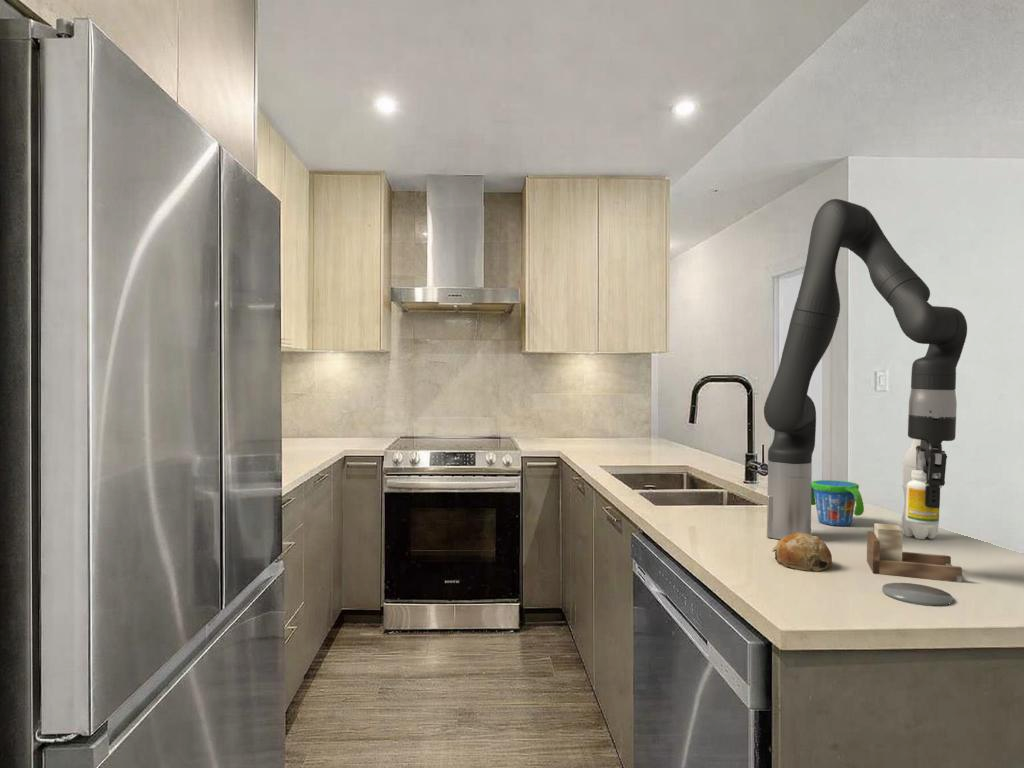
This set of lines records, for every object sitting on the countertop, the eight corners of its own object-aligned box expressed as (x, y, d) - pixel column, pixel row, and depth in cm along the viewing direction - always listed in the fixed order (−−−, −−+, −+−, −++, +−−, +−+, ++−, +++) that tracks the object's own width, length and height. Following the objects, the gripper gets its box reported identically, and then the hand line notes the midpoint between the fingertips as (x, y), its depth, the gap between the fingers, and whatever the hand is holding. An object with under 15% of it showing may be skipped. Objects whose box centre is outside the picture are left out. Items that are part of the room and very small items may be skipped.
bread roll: (797, 591, 125) (813, 557, 122) (758, 556, 133) (772, 523, 130) (832, 584, 129) (848, 551, 126) (792, 550, 137) (807, 518, 134)
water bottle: (943, 541, 148) (945, 429, 148) (908, 539, 150) (910, 428, 150) (930, 534, 156) (932, 427, 155) (896, 532, 157) (898, 426, 157)
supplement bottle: (901, 518, 128) (903, 468, 128) (932, 520, 127) (934, 469, 127) (911, 524, 123) (913, 472, 123) (943, 526, 122) (945, 474, 121)
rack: (873, 573, 124) (873, 530, 124) (866, 560, 132) (867, 520, 132) (961, 582, 119) (962, 537, 119) (949, 568, 127) (949, 527, 127)
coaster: (887, 601, 108) (887, 597, 108) (878, 583, 118) (878, 580, 118) (959, 609, 105) (959, 605, 105) (944, 590, 114) (944, 586, 114)
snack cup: (796, 517, 173) (796, 478, 173) (831, 516, 175) (831, 477, 175) (837, 531, 158) (838, 488, 157) (876, 529, 160) (876, 487, 160)
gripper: (902, 411, 132) (899, 496, 132) (916, 415, 119) (912, 509, 119) (946, 412, 129) (943, 499, 130) (965, 417, 116) (962, 514, 116)
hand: (928, 504), depth 124 cm, fingers closed on supplement bottle, 5 cm apart
